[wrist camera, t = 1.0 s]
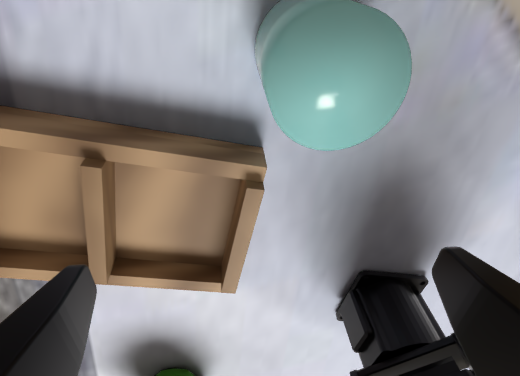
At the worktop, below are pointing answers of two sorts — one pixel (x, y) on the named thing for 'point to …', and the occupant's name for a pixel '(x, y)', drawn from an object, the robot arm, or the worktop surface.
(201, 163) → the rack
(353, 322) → the robot arm
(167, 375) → the bell pepper
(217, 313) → the worktop surface
